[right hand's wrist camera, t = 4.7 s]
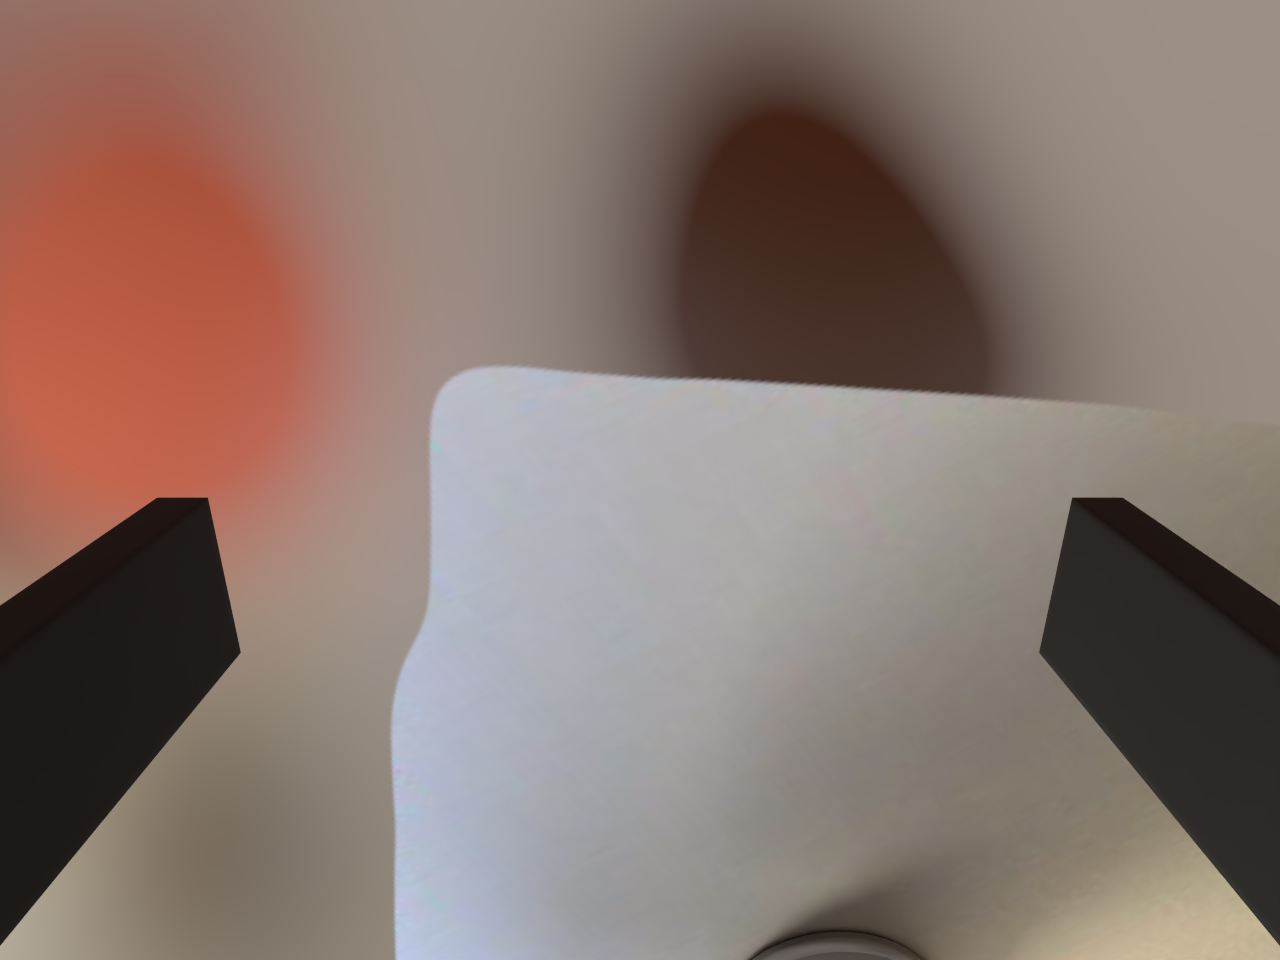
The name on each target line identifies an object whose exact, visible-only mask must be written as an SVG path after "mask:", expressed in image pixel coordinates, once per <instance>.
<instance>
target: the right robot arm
mask: <svg viewBox="0 0 1280 960" xmlns="http://www.w3.org/2000/svg"><path fill="white" fill-rule="evenodd" d="M240 653H241V652H240V647H239V642H238V638H237V633H236V628H235V623H234V619H233V614H232V610H231V605H230V600H229V595H228V591H227V586H226V581H225V576H224V572H223V567H222V562H221V558H220V553H219V548H218V544H217V539H216V534H215V529H214V525H213V520H212V516H211V511H210V506H209V501H208V498H156V499H155V500H153V501H152V502H150V503H149V504H148V505H146V506H145V507H143V508H142V509H140V510H139V511H137V512H136V513H134V514H133V515H131V516H130V517H129V518H127V519H126V520H124V521H123V522H121V523H120V524H118V525H117V526H115V527H114V528H113V529H111V530H110V531H108V532H107V533H105V534H104V535H102V536H101V537H99V538H98V539H96V540H95V541H94V542H92V543H91V544H89V545H88V546H86V547H85V548H83V549H82V550H80V551H79V552H78V553H76V554H75V555H73V556H72V557H70V558H69V559H67V560H66V561H64V562H63V563H62V564H60V565H59V566H57V567H56V568H54V569H53V570H51V571H50V572H48V573H47V574H46V575H44V576H43V577H41V578H40V579H38V580H37V581H35V582H34V583H32V584H31V585H30V586H28V587H27V588H25V589H24V590H22V591H21V592H19V593H18V594H16V595H15V596H14V597H12V598H11V599H9V600H8V601H6V602H5V603H3V604H2V605H0V945H1V944H2V943H3V942H4V940H5V939H6V938H7V937H8V935H9V934H10V933H11V932H12V931H13V929H14V928H15V927H16V926H17V924H18V923H19V922H20V921H21V920H22V918H23V917H24V916H25V915H26V914H27V912H28V911H29V910H30V909H31V907H32V906H33V905H34V904H35V903H36V901H37V900H38V899H39V898H40V896H41V895H42V894H43V893H44V892H45V890H46V889H47V888H48V887H49V885H50V884H51V883H52V882H53V881H54V879H55V878H56V877H57V876H58V874H59V873H60V872H61V871H62V870H63V868H64V867H65V866H66V865H67V864H68V862H69V861H70V860H71V859H72V857H73V856H74V855H75V854H76V853H77V851H78V850H79V849H80V848H81V847H82V845H83V844H84V843H85V842H86V840H87V839H88V838H89V837H90V835H91V834H92V833H93V832H94V831H95V829H96V828H97V827H98V826H99V825H100V823H101V822H102V821H103V820H104V818H105V817H106V816H107V815H108V814H109V812H110V811H111V810H112V809H113V808H114V806H115V805H116V804H117V803H118V801H119V800H120V799H121V798H122V797H123V795H124V794H125V793H126V792H127V790H128V789H129V788H130V787H131V786H132V784H133V783H134V782H135V781H136V780H137V778H138V777H139V776H140V775H141V773H142V772H143V771H144V770H145V769H146V767H147V766H148V765H149V764H150V762H151V761H152V760H153V759H154V758H155V756H156V755H157V754H158V753H159V752H160V750H161V749H162V748H163V747H164V745H165V744H166V743H167V742H168V741H169V739H170V738H171V737H172V736H173V734H174V733H175V732H176V731H177V730H178V728H179V727H180V726H181V725H182V723H183V722H184V721H185V720H186V719H187V717H188V716H189V715H190V714H191V713H192V711H193V710H194V709H195V708H196V706H197V705H198V704H199V703H200V702H201V700H202V699H203V698H204V697H205V695H206V694H207V693H208V692H209V691H210V689H211V688H212V687H213V686H214V685H215V683H216V682H217V681H218V680H219V678H220V677H221V676H222V675H223V674H224V672H225V671H226V670H227V669H228V667H229V666H230V665H231V664H232V663H233V661H234V660H235V659H236V658H237V657H238V655H239V654H240ZM1039 653H1040V654H1041V655H1042V657H1043V658H1044V659H1045V660H1046V661H1047V663H1048V664H1049V665H1050V666H1051V667H1052V669H1053V670H1054V671H1055V672H1056V674H1057V675H1058V676H1059V677H1060V678H1061V680H1062V681H1063V682H1064V683H1065V685H1066V686H1067V687H1068V688H1069V689H1070V691H1071V692H1072V693H1073V694H1074V695H1075V697H1076V698H1077V699H1078V700H1079V702H1080V703H1081V704H1082V705H1083V706H1084V708H1085V709H1086V710H1087V711H1088V713H1089V714H1090V715H1091V716H1092V717H1093V719H1094V720H1095V721H1096V722H1097V724H1098V725H1099V726H1100V727H1101V728H1102V730H1103V731H1104V732H1105V733H1106V734H1107V736H1108V737H1109V738H1110V739H1111V741H1112V742H1113V743H1114V744H1115V745H1116V747H1117V748H1118V749H1119V750H1120V752H1121V753H1122V754H1123V755H1124V756H1125V758H1126V759H1127V760H1128V761H1129V762H1130V764H1131V765H1132V766H1133V767H1134V769H1135V770H1136V771H1137V772H1138V773H1139V775H1140V776H1141V777H1142V778H1143V780H1144V781H1145V782H1146V783H1147V784H1148V786H1149V787H1150V788H1151V789H1152V790H1153V792H1154V793H1155V794H1156V795H1157V797H1158V798H1159V799H1160V800H1161V801H1162V803H1163V804H1164V805H1165V806H1166V808H1167V809H1168V810H1169V811H1170V812H1171V814H1172V815H1173V816H1174V817H1175V819H1176V820H1177V821H1178V822H1179V823H1180V825H1181V826H1182V827H1183V828H1184V829H1185V831H1186V832H1187V833H1188V834H1189V836H1190V837H1191V838H1192V839H1193V840H1194V842H1195V843H1196V844H1197V845H1198V847H1199V848H1200V849H1201V850H1202V851H1203V853H1204V854H1205V855H1206V856H1207V857H1208V859H1209V860H1210V861H1211V862H1212V864H1213V865H1214V866H1215V867H1216V868H1217V870H1218V871H1219V872H1220V873H1221V875H1222V876H1223V877H1224V878H1225V879H1226V881H1227V882H1228V883H1229V884H1230V886H1231V887H1232V888H1233V889H1234V890H1235V892H1236V893H1237V894H1238V895H1239V896H1240V898H1241V899H1242V900H1243V901H1244V903H1245V904H1246V905H1247V906H1248V907H1249V909H1250V910H1251V911H1252V912H1253V914H1254V915H1255V916H1256V917H1257V918H1258V920H1259V921H1260V922H1261V923H1262V924H1263V926H1264V927H1265V928H1266V929H1267V931H1268V932H1269V933H1270V934H1271V935H1272V937H1273V938H1274V939H1275V940H1276V942H1277V943H1278V944H1279V945H1280V605H1278V604H1277V603H1275V602H1274V601H1272V600H1271V599H1269V598H1268V597H1266V596H1265V595H1264V594H1262V593H1261V592H1259V591H1258V590H1256V589H1255V588H1253V587H1252V586H1250V585H1249V584H1248V583H1246V582H1245V581H1243V580H1242V579H1240V578H1239V577H1237V576H1236V575H1234V574H1233V573H1232V572H1230V571H1229V570H1227V569H1226V568H1224V567H1223V566H1221V565H1220V564H1218V563H1217V562H1216V561H1214V560H1213V559H1211V558H1210V557H1208V556H1207V555H1205V554H1204V553H1202V552H1201V551H1200V550H1198V549H1197V548H1195V547H1194V546H1192V545H1191V544H1189V543H1188V542H1186V541H1185V540H1183V539H1182V538H1181V537H1179V536H1178V535H1176V534H1175V533H1173V532H1172V531H1170V530H1169V529H1167V528H1166V527H1165V526H1163V525H1162V524H1160V523H1159V522H1157V521H1156V520H1154V519H1153V518H1151V517H1150V516H1149V515H1147V514H1146V513H1144V512H1143V511H1141V510H1140V509H1138V508H1137V507H1135V506H1134V505H1133V504H1131V503H1130V502H1128V501H1127V500H1125V499H1124V498H1072V501H1071V506H1070V511H1069V515H1068V520H1067V525H1066V529H1065V534H1064V539H1063V544H1062V548H1061V553H1060V558H1059V562H1058V567H1057V572H1056V576H1055V581H1054V586H1053V591H1052V595H1051V600H1050V605H1049V609H1048V614H1047V619H1046V623H1045V628H1044V633H1043V638H1042V642H1041V647H1040V652H1039ZM752 960H921V959H920V958H919V957H918V956H916V955H915V954H914V953H912V952H911V951H910V950H908V949H906V948H905V947H903V946H901V945H899V944H897V943H895V942H893V941H890V940H887V939H884V938H881V937H877V936H874V935H869V934H863V933H855V932H825V933H816V934H811V935H805V936H801V937H797V938H794V939H791V940H788V941H785V942H783V943H780V944H778V945H775V946H773V947H771V948H769V949H768V950H766V951H764V952H762V953H761V954H759V955H758V956H756V957H755V958H753V959H752Z"/></svg>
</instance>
